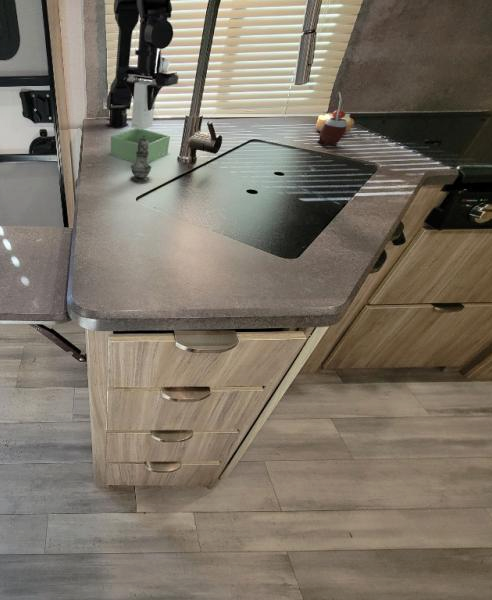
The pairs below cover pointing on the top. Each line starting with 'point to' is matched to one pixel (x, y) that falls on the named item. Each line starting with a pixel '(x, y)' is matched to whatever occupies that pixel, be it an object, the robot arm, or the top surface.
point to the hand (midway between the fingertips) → (143, 109)
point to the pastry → (325, 117)
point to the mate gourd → (333, 129)
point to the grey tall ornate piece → (141, 163)
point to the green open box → (128, 144)
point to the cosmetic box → (141, 107)
